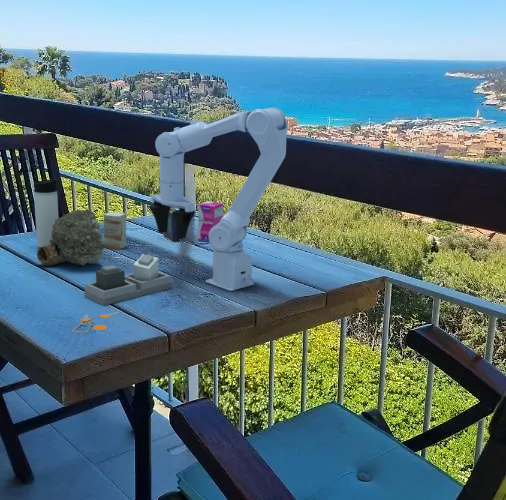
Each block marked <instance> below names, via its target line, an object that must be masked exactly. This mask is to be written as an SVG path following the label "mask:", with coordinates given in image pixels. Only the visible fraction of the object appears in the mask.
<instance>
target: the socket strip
mask: <svg viewBox="0 0 506 500" xmlns="http://www.w3.org/2000/svg"><path fill="white" fill-rule="evenodd" d="M84 285H85V289H84V290H85V291H84V292H83V294H84V295H83V296H84V298H87V299H89V300H91V301H93V302H95V303H97V304H98V305H102V306H107V305H112V304H116V303H119V301H120V302H123V301H127V300H130V299H135V298H139V297H141V296H142V297H143V296H146V295H150V294H153V293H157V292H162V291H166V290H169V289H172V288H173V283H172V276H171V275H170V274H167V273H164V272H161V271H159V275H158V276H157V278H155V279H151V280H147V281H139V280H136V279H134V272H132V273H127V274H125V286H122V287H118V288H114V289H110V290H105V291H104V290H102V289H100V288H97V287H96V281H94V282H92V281H91V282H90V283H85V284H84ZM115 302H116V303H115Z"/></svg>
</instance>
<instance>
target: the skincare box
mask: <svg viewBox="0 0 506 500" xmlns="http://www.w3.org/2000/svg"><path fill="white" fill-rule="evenodd" d="M103 237H104V238H103V241H104V243H105V248H104V249H109V250H118V251H119V250H122V249H123V248H126V247H127V214H126V213H125V212H116V211H110V212H106V213H105V214H104V213H103Z"/></svg>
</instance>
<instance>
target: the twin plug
mask: <svg viewBox="0 0 506 500" xmlns="http://www.w3.org/2000/svg"><path fill="white" fill-rule="evenodd" d="M125 272H126V271H125V270H124V269H121V268H120V267H119V266H117V265H116V266H115V265H114V264H112V265H108V266H103V267H101V269H100V270H95V280H96V281H95V282H96V287H97V288H100V289H102V290H104V291H105V290H110V289H114V288H118V287H122V286H125V275H126V273H125Z"/></svg>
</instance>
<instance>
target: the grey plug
mask: <svg viewBox="0 0 506 500" xmlns="http://www.w3.org/2000/svg"><path fill="white" fill-rule="evenodd" d="M132 265H133V273H134V279H136V280H139V281H147V280H151V279H155V278H157V276H158V275H159V272H160V271H159V268H160V267H159V257H156V256H154V255H153V256H152V255H149V254H145V253H143V254H142V255H141V256H140V257H139V258H138V259H137V260H136V261H135V262H134V263H133V264H132Z"/></svg>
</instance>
